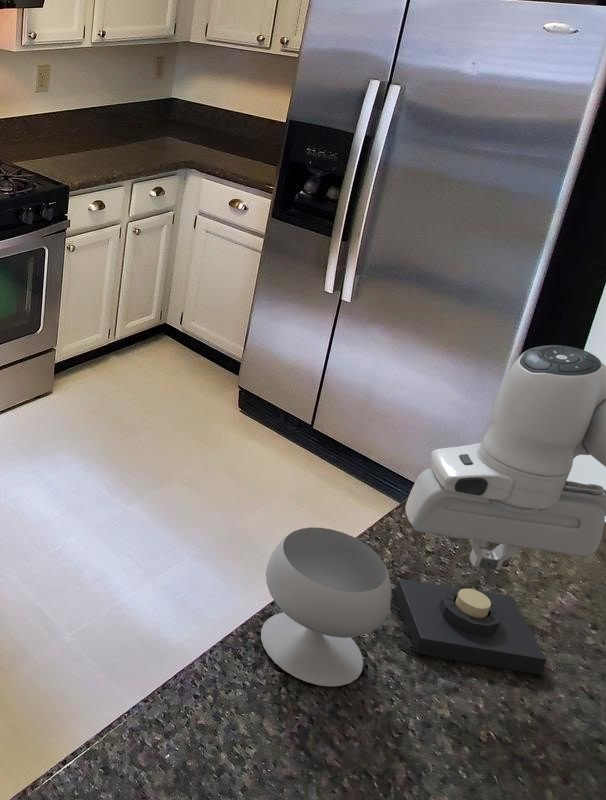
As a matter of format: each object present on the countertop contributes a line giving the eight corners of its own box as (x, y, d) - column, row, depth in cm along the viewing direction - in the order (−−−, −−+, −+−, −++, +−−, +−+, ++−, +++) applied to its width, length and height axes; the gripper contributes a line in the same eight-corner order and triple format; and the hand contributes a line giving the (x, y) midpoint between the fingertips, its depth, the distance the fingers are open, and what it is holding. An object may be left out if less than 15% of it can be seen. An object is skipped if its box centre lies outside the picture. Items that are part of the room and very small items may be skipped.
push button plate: (506, 611, 108) (516, 585, 106) (540, 675, 98) (551, 648, 97) (394, 593, 111) (401, 568, 109) (415, 653, 102) (424, 627, 100)
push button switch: (481, 601, 104) (485, 590, 104) (491, 621, 101) (495, 610, 101) (451, 596, 105) (454, 586, 104) (460, 616, 102) (463, 605, 101)
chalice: (290, 593, 111) (310, 507, 105) (391, 657, 101) (420, 565, 95) (231, 641, 104) (249, 551, 97) (334, 715, 93) (361, 619, 87)
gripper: (605, 472, 95) (566, 563, 101) (417, 448, 100) (390, 535, 105) (632, 504, 90) (590, 598, 95) (432, 477, 94) (403, 568, 100)
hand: (483, 565), depth 100 cm, fingers closed
